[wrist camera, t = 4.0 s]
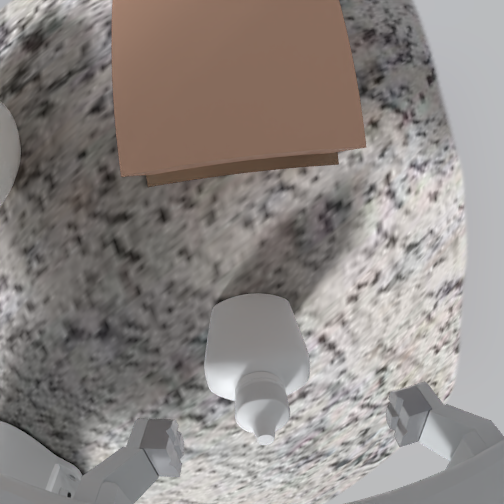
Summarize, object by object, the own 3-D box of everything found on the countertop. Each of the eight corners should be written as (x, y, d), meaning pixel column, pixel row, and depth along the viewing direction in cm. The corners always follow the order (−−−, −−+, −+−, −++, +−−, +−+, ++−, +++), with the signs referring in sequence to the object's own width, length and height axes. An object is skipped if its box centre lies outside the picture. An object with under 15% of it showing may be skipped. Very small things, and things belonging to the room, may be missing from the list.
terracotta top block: (328, 153, 15) (366, 147, 11) (155, 174, 15) (121, 177, 10) (304, 5, 13) (325, -42, 8) (143, 23, 13) (113, -19, 8)
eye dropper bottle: (273, 349, 23) (299, 475, 12) (204, 324, 22) (183, 451, 11) (298, 301, 22) (351, 417, 11) (226, 273, 22) (218, 384, 10)
